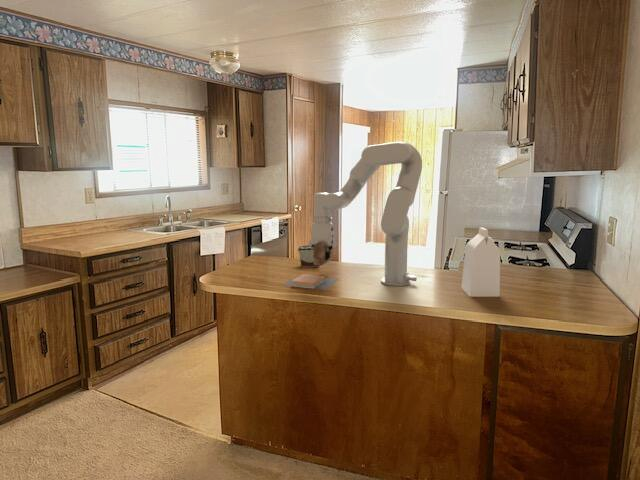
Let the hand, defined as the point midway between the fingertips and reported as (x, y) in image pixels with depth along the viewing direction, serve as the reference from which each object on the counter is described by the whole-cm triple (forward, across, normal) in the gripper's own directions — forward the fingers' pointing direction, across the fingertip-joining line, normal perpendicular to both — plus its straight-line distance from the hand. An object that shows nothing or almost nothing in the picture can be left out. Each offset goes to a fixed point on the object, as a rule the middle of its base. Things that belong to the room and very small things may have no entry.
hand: (322, 258), depth 208 cm
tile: (+6, 0, +10) cm, 12 cm away
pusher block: (+2, 0, 0) cm, 2 cm away
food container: (+8, +14, -18) cm, 24 cm away
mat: (+8, 0, +13) cm, 15 cm away
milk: (+9, -69, 0) cm, 69 cm away
